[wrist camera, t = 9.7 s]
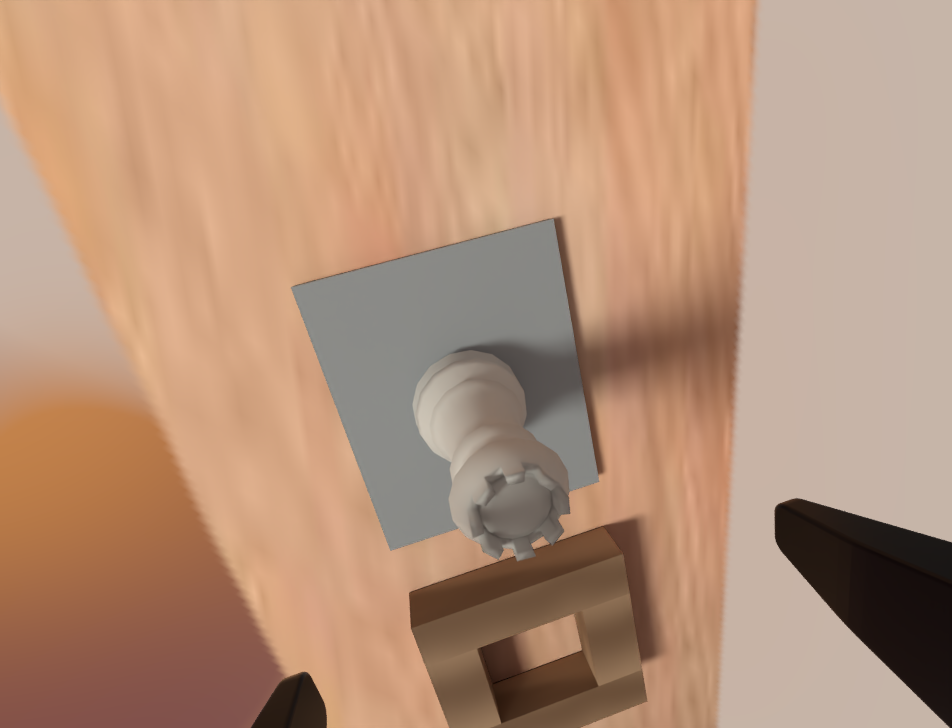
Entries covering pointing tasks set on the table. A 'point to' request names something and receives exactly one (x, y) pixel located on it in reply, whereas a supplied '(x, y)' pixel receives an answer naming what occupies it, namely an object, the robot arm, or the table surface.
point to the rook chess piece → (491, 454)
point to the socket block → (523, 608)
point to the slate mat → (432, 338)
